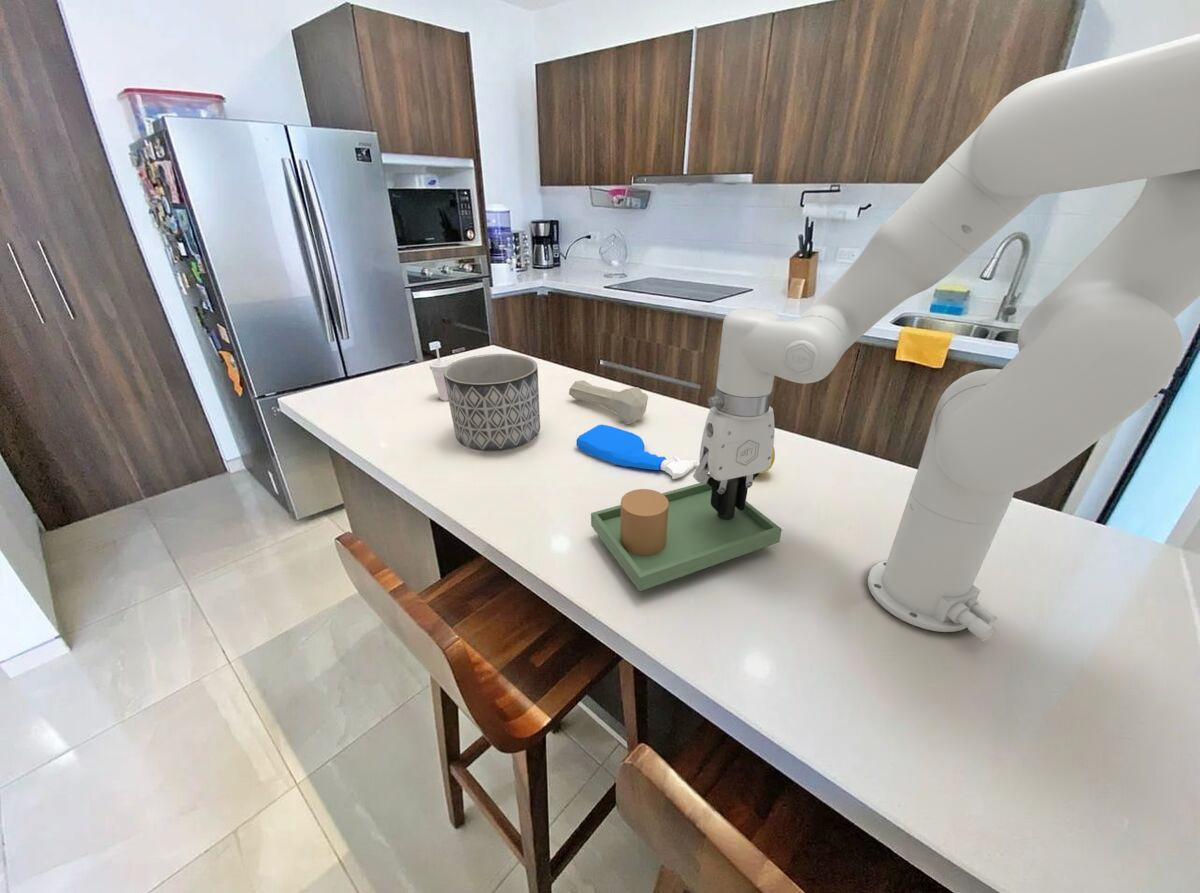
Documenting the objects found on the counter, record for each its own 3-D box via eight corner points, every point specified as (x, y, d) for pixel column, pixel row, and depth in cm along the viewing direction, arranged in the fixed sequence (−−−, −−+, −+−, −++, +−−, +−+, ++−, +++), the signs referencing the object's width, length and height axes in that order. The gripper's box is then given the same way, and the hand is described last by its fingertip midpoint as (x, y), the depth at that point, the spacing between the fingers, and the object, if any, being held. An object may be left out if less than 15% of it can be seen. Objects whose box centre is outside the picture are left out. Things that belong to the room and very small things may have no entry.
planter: (438, 453, 105) (424, 379, 97) (479, 416, 122) (470, 351, 114) (523, 463, 101) (516, 387, 93) (553, 423, 117) (549, 356, 110)
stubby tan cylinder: (633, 561, 70) (634, 520, 67) (612, 534, 75) (612, 495, 72) (675, 547, 72) (677, 508, 69) (651, 522, 78) (653, 484, 75)
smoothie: (434, 395, 135) (425, 344, 128) (459, 392, 136) (451, 342, 130) (435, 403, 129) (425, 351, 123) (460, 400, 131) (452, 348, 124)
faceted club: (629, 428, 112) (556, 404, 129) (652, 426, 119) (580, 403, 135) (635, 390, 110) (561, 370, 126) (658, 390, 116) (584, 371, 133)
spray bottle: (571, 438, 104) (674, 476, 91) (603, 420, 112) (701, 453, 98) (572, 451, 105) (672, 490, 92) (603, 432, 113) (700, 466, 100)
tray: (639, 591, 66) (641, 544, 62) (591, 525, 79) (589, 483, 75) (779, 542, 75) (788, 497, 71) (715, 490, 88) (719, 450, 84)
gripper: (705, 419, 64) (694, 533, 73) (807, 401, 69) (785, 510, 78) (677, 398, 71) (670, 505, 79) (773, 383, 75) (756, 486, 84)
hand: (727, 507), depth 78 cm, fingers closed on tray, 2 cm apart
